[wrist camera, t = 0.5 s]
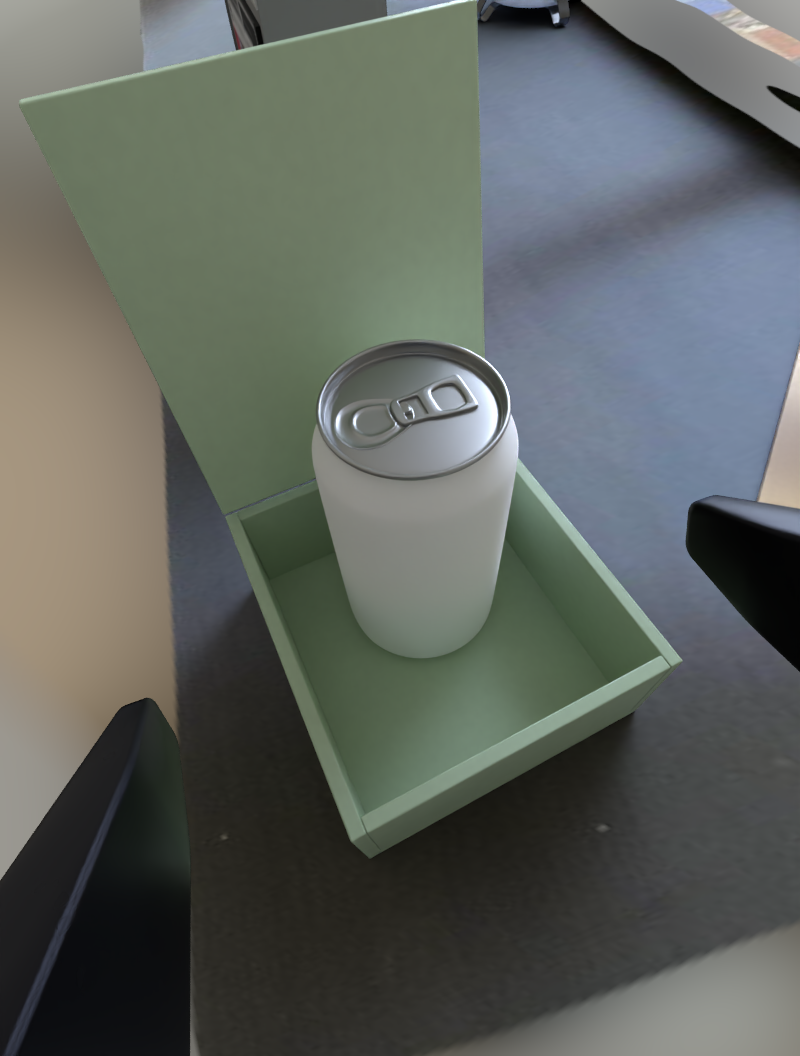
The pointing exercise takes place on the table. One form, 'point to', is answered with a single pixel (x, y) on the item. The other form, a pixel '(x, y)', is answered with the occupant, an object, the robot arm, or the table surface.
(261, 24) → the cassette tape recorder
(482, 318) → the chest lid
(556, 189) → the table surface
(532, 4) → the coffee press
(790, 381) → the tan flat long board
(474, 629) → the can
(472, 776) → the chest
